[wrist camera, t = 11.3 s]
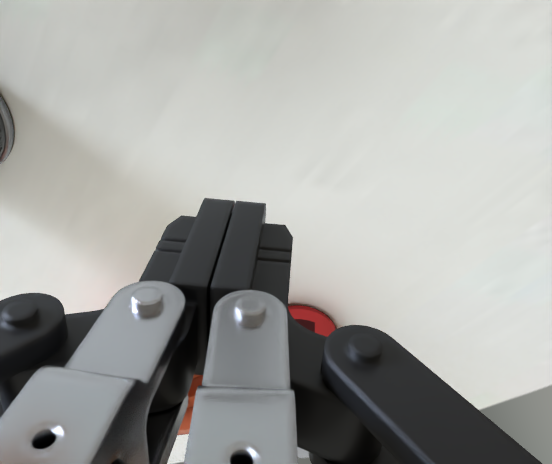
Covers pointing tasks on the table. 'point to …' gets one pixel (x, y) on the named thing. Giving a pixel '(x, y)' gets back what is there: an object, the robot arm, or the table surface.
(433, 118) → the table surface
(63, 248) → the table surface
